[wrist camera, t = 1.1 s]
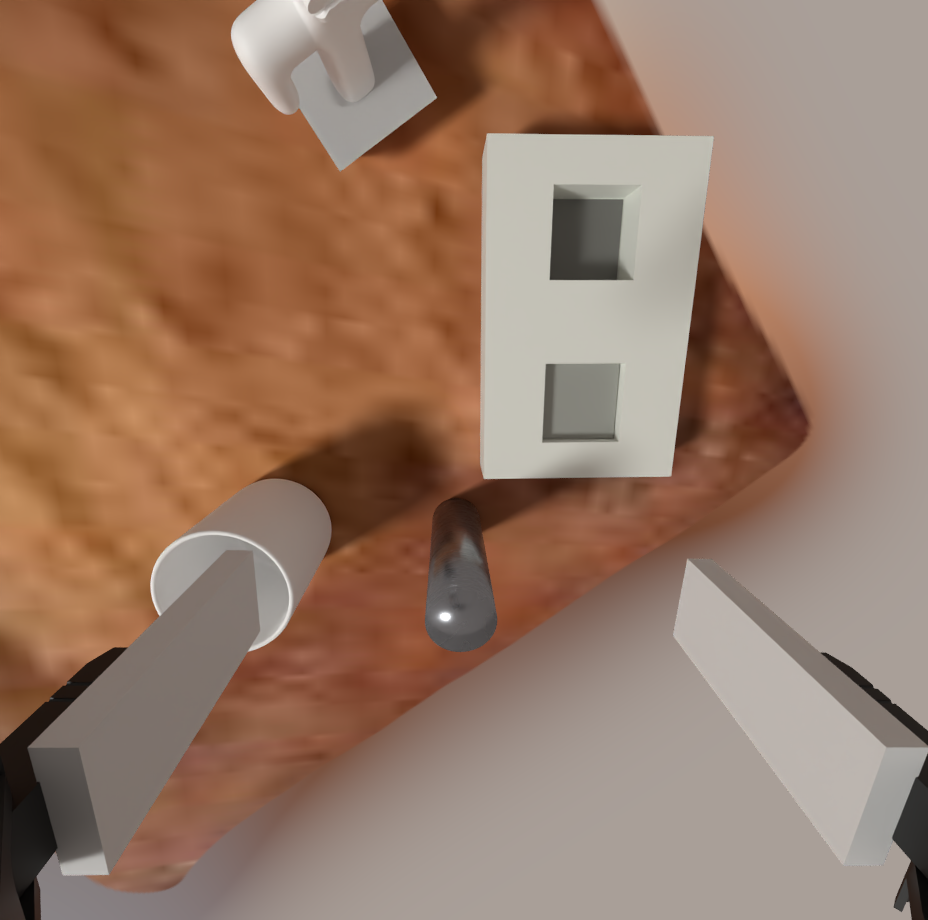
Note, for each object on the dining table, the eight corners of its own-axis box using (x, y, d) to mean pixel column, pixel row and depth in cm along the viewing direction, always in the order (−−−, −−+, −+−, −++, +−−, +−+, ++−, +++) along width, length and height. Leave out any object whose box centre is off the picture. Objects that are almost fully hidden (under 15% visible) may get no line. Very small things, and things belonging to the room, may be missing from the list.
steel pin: (432, 498, 38) (424, 590, 25) (479, 497, 38) (497, 588, 25) (433, 542, 39) (426, 652, 26) (479, 541, 40) (496, 650, 26)
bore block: (482, 157, 32) (487, 133, 28) (681, 159, 32) (714, 136, 28) (480, 463, 38) (483, 479, 34) (648, 461, 38) (670, 476, 34)
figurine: (271, 95, 30) (111, -120, 16) (388, 1, 29) (331, -324, 15) (339, 198, 32) (251, 90, 18) (451, 114, 31) (456, -77, 16)
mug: (176, 532, 38) (77, 606, 28) (290, 455, 37) (229, 504, 27) (245, 606, 40) (176, 701, 30) (354, 536, 39) (321, 610, 29)
